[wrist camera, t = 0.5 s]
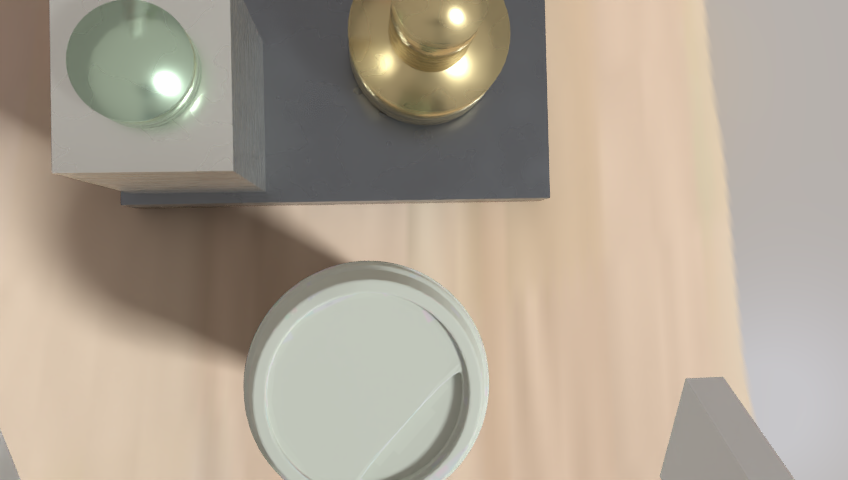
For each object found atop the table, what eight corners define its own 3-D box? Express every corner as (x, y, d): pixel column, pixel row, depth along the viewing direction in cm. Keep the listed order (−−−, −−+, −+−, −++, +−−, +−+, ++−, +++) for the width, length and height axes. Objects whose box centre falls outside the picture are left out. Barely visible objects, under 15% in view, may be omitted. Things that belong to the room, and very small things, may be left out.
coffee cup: (305, 451, 33) (273, 563, 21) (259, 284, 33) (201, 302, 21) (470, 402, 34) (529, 482, 22) (425, 239, 34) (460, 231, 22)
